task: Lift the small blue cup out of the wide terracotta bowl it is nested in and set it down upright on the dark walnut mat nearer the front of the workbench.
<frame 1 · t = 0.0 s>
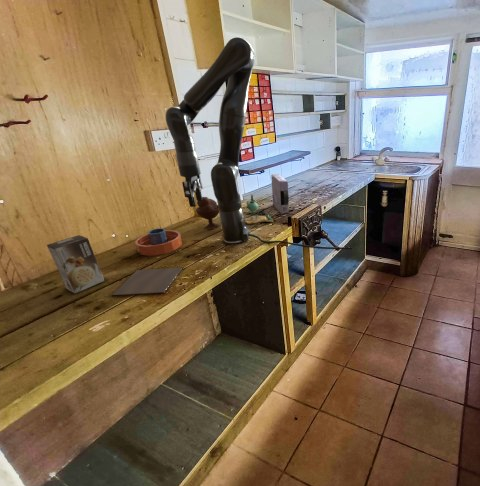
hand: (196, 203, 127), 17 cm above the workbench, tool pointing down, fingers open, 8 cm apart
terracotta bowl: (160, 247, 130), on the workbench, touching blue cup
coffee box: (86, 285, 104), on the workbench
cake pan box: (281, 209, 173), on the workbench
frog figurine: (256, 222, 155), on the workbench
ice cream bowl: (211, 227, 151), on the workbench
blue cup: (160, 246, 130), resting on terracotta bowl
walnut mat: (150, 281, 105), on the workbench
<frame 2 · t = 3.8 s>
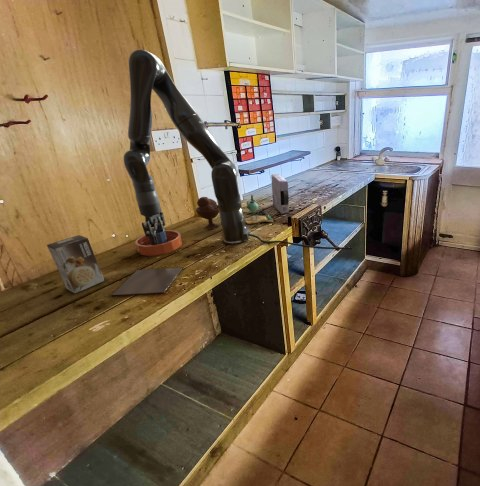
hand: (158, 240, 129), 3 cm above the workbench, tool pointing down, fingers closed on blue cup, 6 cm apart
blue cup: (160, 246, 130), resting on terracotta bowl, touching gripper
everything else where it was.
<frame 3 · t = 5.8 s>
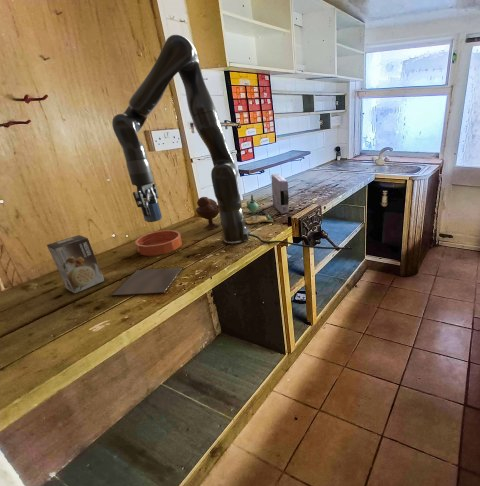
hand: (151, 213, 124), 15 cm above the workbench, tool pointing down, fingers closed on blue cup, 6 cm apart
terracotta bowl: (160, 247, 130), on the workbench
blue cup: (153, 219, 125), point 12 cm above the workbench, touching gripper
everything else where it was.
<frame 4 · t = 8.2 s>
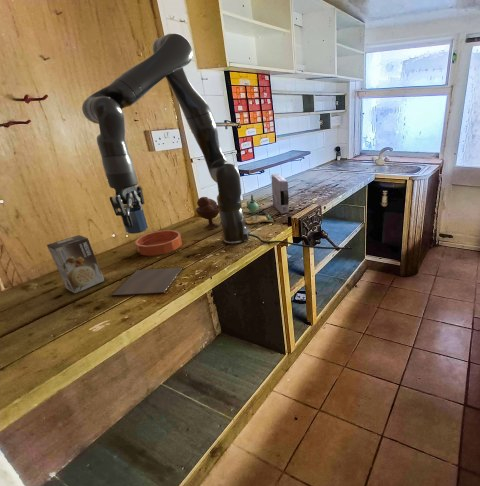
hand: (135, 222, 100), 20 cm above the workbench, tool pointing down, fingers closed on blue cup, 6 cm apart
blue cup: (137, 230, 101), point 17 cm above the workbench, touching gripper
everything else where it was.
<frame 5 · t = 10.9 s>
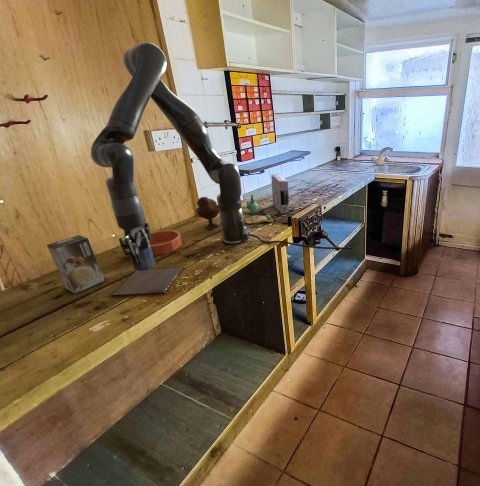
hand: (143, 259, 101), 8 cm above the workbench, tool pointing down, fingers closed on blue cup, 6 cm apart
blue cup: (145, 266, 102), point 6 cm above the workbench, touching gripper
everything else where it was.
when the fingers open (3 cm above the workbench, at t = 12.7 s): blue cup stays where it is, resting on walnut mat.
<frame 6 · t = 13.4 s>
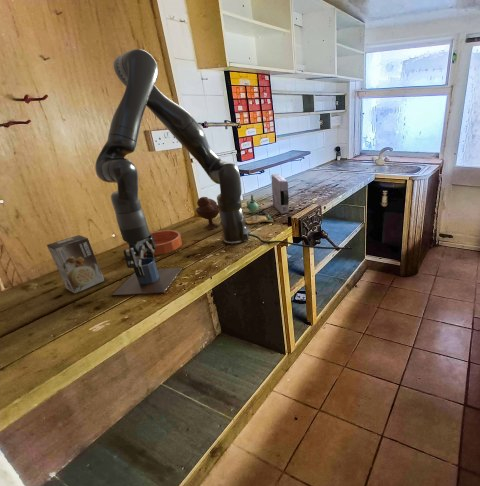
hand: (146, 269, 103), 4 cm above the workbench, tool pointing down, fingers open, 8 cm apart
blue cup: (149, 280, 105), resting on walnut mat
everything else where it was.
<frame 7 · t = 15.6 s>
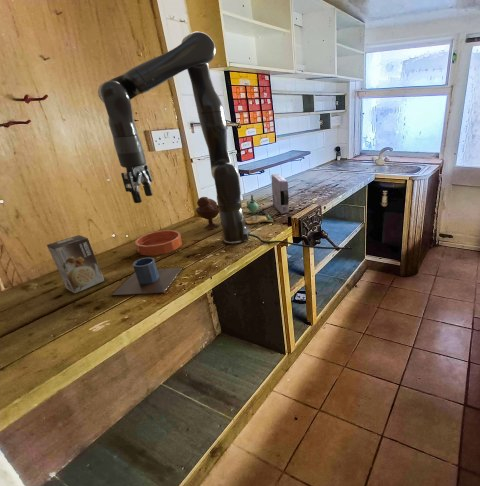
hand: (144, 199, 108), 25 cm above the workbench, tool pointing down, fingers open, 8 cm apart
nothing on the workbench moved.
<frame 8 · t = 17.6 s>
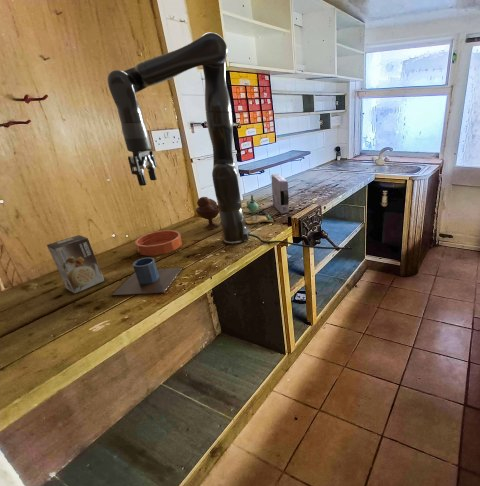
hand: (148, 182, 115), 28 cm above the workbench, tool pointing down, fingers open, 8 cm apart
nothing on the workbench moved.
at the end: blue cup inside the target area on the walnut mat (0.1 cm from its centre), point 0.5 cm above the walnut mat's base; blue cup tilted 0°; terracotta bowl moved 0.0 cm from its start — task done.
